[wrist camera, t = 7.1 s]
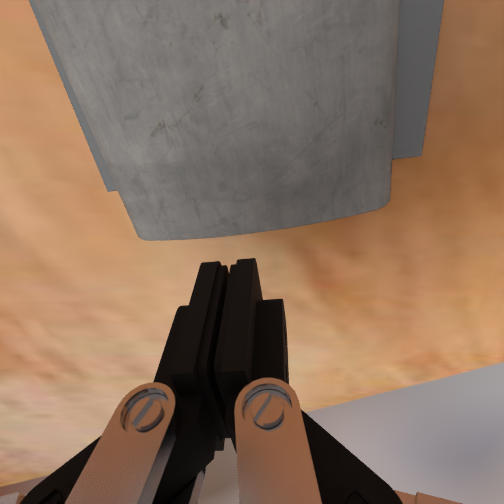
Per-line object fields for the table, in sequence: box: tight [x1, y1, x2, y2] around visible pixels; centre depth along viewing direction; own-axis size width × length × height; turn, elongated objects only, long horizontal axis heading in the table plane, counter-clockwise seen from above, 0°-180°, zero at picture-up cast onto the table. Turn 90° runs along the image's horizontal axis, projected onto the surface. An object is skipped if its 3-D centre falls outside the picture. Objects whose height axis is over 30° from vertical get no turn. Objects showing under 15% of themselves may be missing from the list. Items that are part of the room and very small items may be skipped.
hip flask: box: [34, 0, 400, 241], centre depth 15 cm, size 16×4×20 cm
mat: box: [29, 0, 444, 192], centre depth 17 cm, size 20×17×1 cm
